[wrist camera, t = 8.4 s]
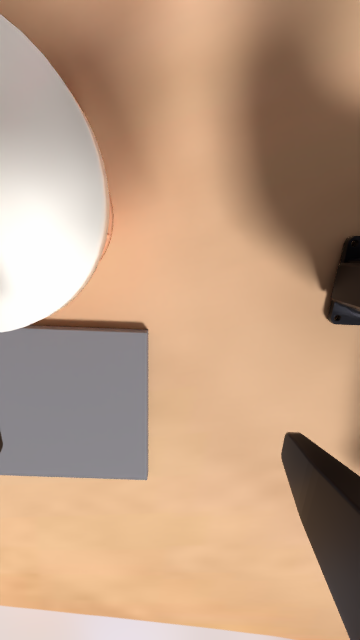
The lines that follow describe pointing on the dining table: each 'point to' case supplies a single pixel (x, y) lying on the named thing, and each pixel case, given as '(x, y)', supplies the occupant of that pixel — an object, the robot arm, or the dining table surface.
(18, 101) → the lid
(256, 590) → the dining table surface
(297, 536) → the dining table surface
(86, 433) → the mat
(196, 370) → the dining table surface
